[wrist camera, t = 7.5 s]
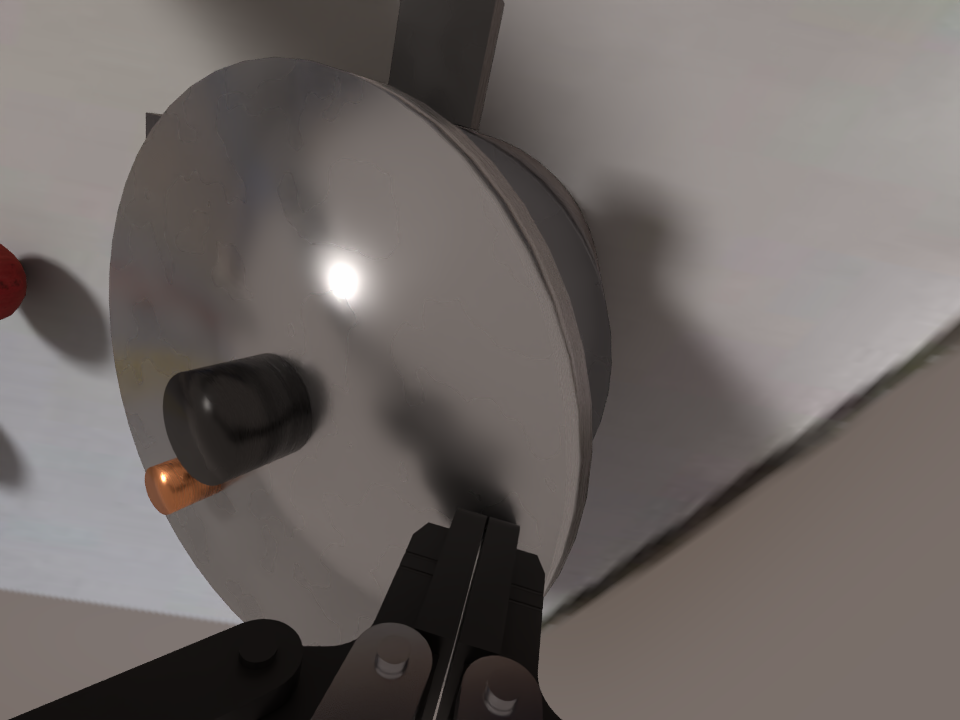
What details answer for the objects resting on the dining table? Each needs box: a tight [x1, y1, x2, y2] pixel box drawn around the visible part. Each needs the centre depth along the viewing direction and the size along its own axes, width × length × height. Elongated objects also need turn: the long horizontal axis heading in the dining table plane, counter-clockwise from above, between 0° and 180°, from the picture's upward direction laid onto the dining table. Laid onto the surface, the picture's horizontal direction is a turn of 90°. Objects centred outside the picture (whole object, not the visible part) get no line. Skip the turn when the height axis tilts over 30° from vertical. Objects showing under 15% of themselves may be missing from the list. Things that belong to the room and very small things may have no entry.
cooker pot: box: [146, 0, 612, 440], centre depth 26 cm, size 25×18×12 cm
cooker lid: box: [109, 57, 592, 688], centre depth 16 cm, size 18×18×4 cm
